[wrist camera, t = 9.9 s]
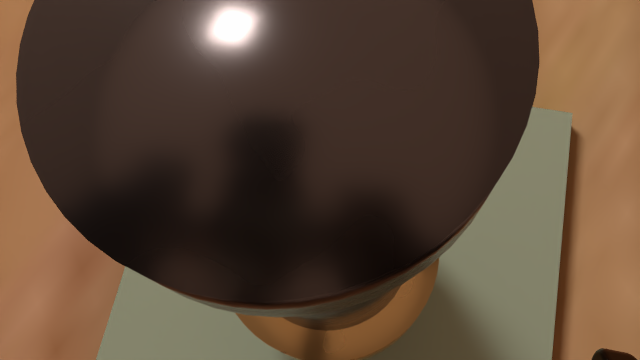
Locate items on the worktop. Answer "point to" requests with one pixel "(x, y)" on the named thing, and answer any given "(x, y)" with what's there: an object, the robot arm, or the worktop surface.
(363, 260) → the dark brown cylinder
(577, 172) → the worktop surface
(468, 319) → the mat
